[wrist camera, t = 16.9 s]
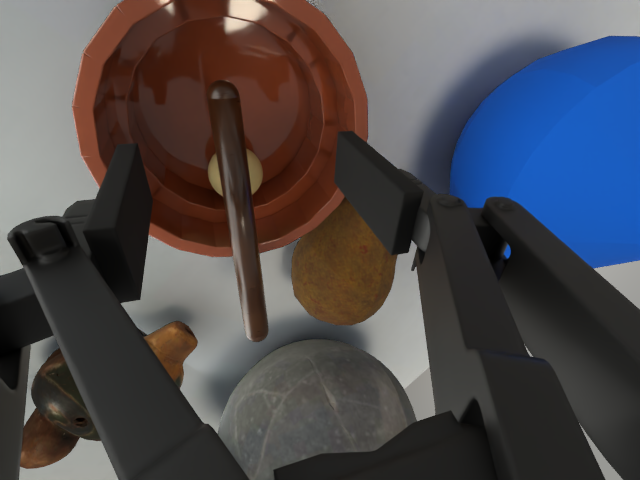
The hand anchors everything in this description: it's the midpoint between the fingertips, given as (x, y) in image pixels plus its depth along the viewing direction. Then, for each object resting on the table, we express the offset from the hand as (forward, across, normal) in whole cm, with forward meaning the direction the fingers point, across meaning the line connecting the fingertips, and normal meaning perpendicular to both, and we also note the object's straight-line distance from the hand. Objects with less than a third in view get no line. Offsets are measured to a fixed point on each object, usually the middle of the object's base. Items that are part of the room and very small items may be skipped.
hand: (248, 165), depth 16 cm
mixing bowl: (+9, 0, 0) cm, 9 cm away
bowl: (+9, +5, -30) cm, 32 cm away
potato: (+9, +8, -11) cm, 17 cm away
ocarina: (+9, -12, -20) cm, 25 cm away
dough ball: (+7, 0, -3) cm, 7 cm away
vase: (+9, +25, -4) cm, 27 cm away
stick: (+3, -1, +3) cm, 5 cm away
